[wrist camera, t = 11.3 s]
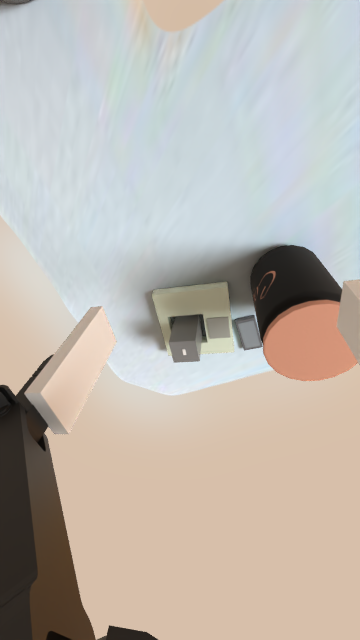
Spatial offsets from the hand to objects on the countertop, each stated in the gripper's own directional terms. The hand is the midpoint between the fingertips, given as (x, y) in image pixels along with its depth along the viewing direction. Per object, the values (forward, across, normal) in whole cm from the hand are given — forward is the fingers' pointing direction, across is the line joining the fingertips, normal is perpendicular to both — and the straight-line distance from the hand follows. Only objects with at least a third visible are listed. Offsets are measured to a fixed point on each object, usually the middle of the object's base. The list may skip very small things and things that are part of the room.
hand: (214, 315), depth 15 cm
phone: (+29, +3, -23) cm, 37 cm away
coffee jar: (+29, +9, -12) cm, 33 cm away
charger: (+29, -8, -20) cm, 36 cm away
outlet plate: (+29, -6, -19) cm, 35 cm away
